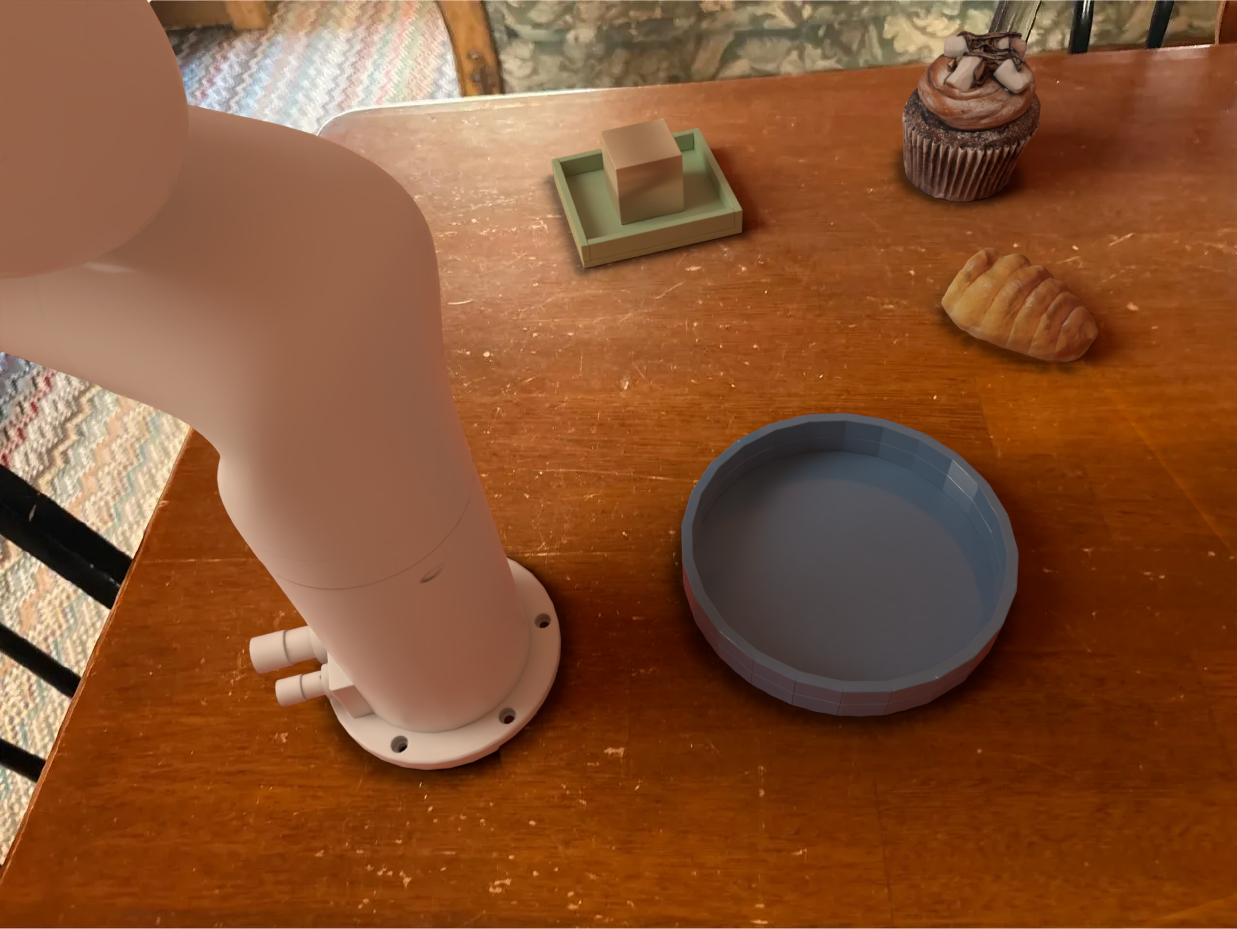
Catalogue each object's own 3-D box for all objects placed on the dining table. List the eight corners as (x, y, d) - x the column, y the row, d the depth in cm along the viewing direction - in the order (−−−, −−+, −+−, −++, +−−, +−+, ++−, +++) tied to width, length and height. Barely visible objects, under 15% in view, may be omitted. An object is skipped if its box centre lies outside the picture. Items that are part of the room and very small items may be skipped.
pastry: (1110, 330, 61) (1130, 286, 58) (1055, 389, 59) (1073, 347, 56) (983, 268, 66) (995, 225, 63) (926, 321, 63) (936, 278, 60)
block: (621, 225, 71) (615, 169, 67) (605, 187, 74) (599, 131, 70) (684, 211, 71) (682, 154, 67) (666, 173, 74) (664, 117, 70)
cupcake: (881, 139, 76) (901, 17, 68) (1003, 128, 75) (1037, 4, 67) (906, 213, 70) (931, 90, 62) (1039, 203, 69) (1080, 77, 61)
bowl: (739, 759, 46) (740, 733, 43) (649, 489, 57) (646, 453, 54) (1063, 670, 47) (1085, 639, 45) (918, 422, 58) (928, 384, 55)
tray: (583, 268, 69) (580, 246, 68) (554, 181, 76) (550, 159, 74) (742, 232, 70) (742, 209, 68) (699, 149, 77) (698, 126, 75)
